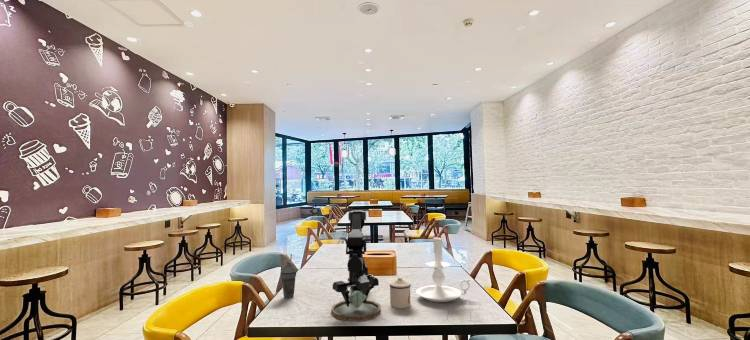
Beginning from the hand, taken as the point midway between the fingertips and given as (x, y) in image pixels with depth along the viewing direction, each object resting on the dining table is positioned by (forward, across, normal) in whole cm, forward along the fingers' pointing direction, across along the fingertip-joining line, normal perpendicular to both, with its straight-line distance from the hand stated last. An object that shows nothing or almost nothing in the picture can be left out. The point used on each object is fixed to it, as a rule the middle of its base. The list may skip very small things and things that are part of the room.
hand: (356, 304), depth 137 cm
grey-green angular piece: (+1, 0, 0) cm, 1 cm away
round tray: (+2, 0, 0) cm, 3 cm away
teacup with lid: (+3, +20, -2) cm, 20 cm away
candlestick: (+3, +40, -7) cm, 41 cm away
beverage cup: (+3, -19, +33) cm, 38 cm away
